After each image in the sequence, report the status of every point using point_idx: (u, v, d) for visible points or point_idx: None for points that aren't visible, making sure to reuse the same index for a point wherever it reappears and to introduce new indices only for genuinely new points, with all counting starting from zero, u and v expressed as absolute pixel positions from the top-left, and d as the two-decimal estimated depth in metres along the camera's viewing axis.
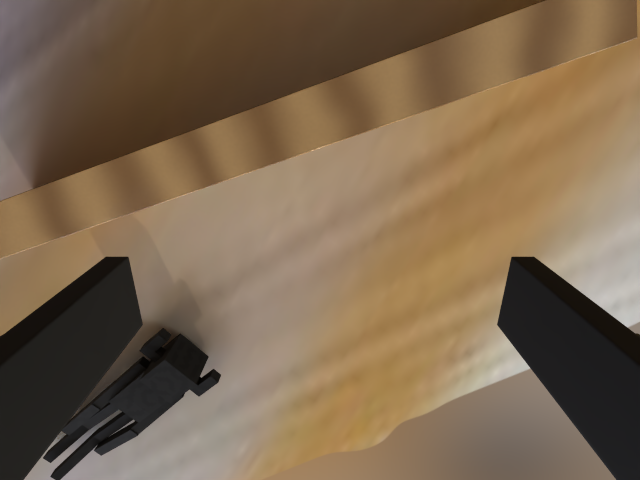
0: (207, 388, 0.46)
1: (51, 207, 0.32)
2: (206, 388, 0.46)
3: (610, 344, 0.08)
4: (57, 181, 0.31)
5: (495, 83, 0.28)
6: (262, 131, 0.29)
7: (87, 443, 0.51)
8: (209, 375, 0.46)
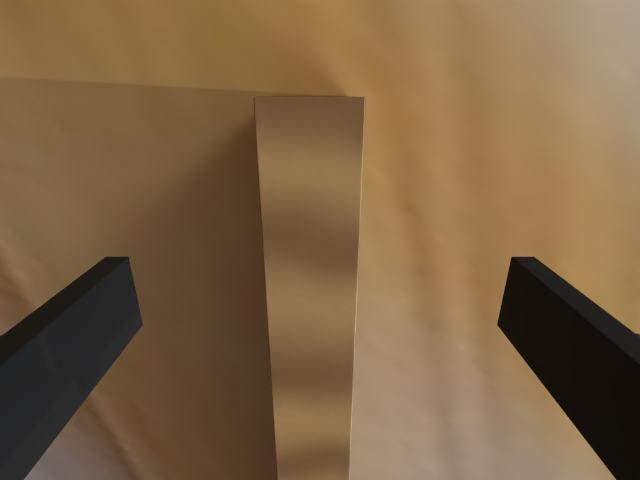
0: None
1: None
2: None
3: (610, 344, 0.08)
4: None
5: (351, 312, 0.19)
6: None
7: None
8: None
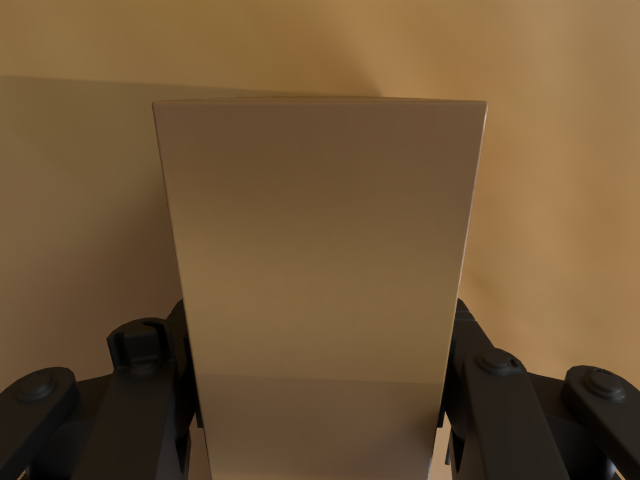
0: None
1: None
2: None
3: None
4: None
5: None
6: None
7: None
8: None
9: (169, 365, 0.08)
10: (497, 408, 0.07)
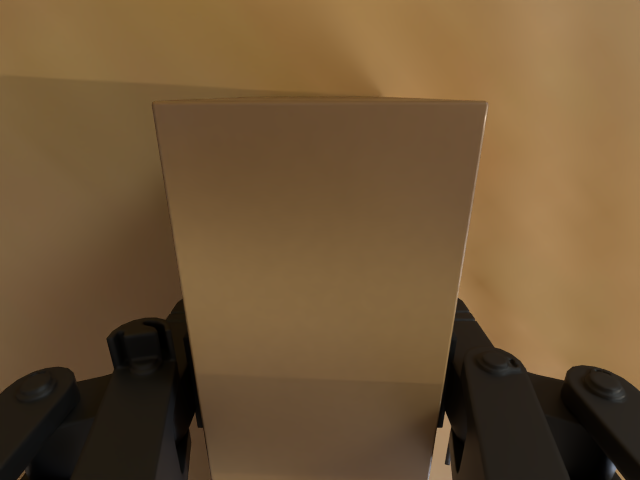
0: None
1: None
2: None
3: None
4: None
5: None
6: None
7: None
8: None
9: (169, 365, 0.08)
10: (497, 408, 0.07)
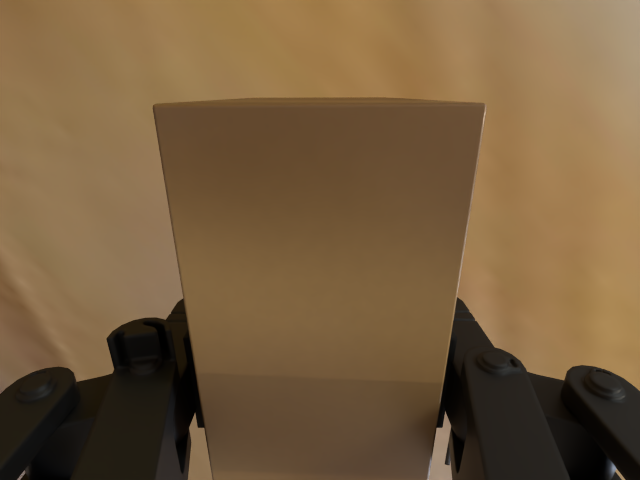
0: None
1: None
2: None
3: None
4: None
5: None
6: None
7: None
8: None
9: (169, 365, 0.08)
10: (497, 408, 0.07)
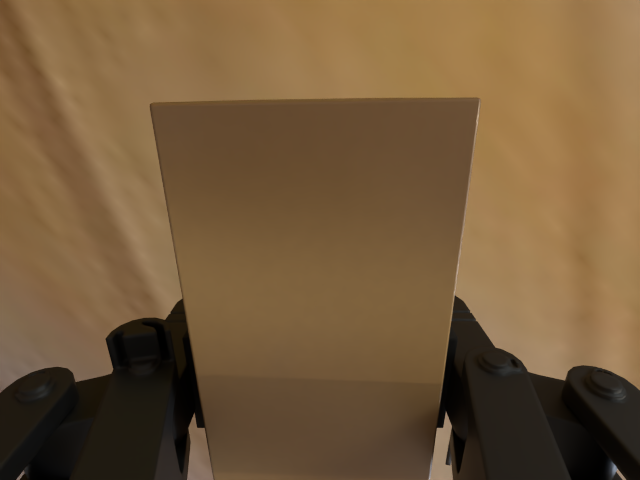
0: None
1: None
2: None
3: None
4: None
5: None
6: None
7: None
8: None
9: (168, 365, 0.08)
10: (498, 408, 0.07)
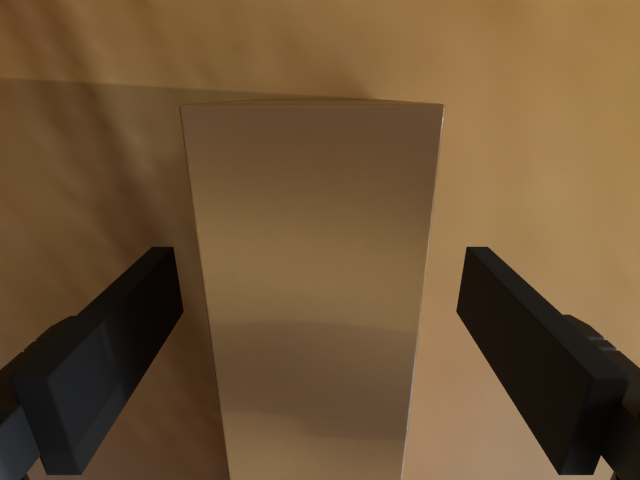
0: None
1: None
2: None
3: (536, 322, 0.09)
4: None
5: None
6: None
7: None
8: None
9: None
10: None
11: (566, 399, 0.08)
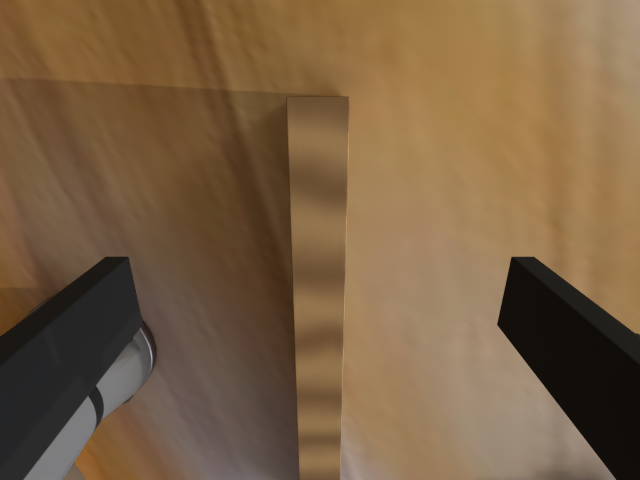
0: None
1: None
2: None
3: (610, 344, 0.08)
4: None
5: (343, 230, 0.31)
6: (315, 399, 0.37)
7: None
8: None
9: None
10: None
11: None
